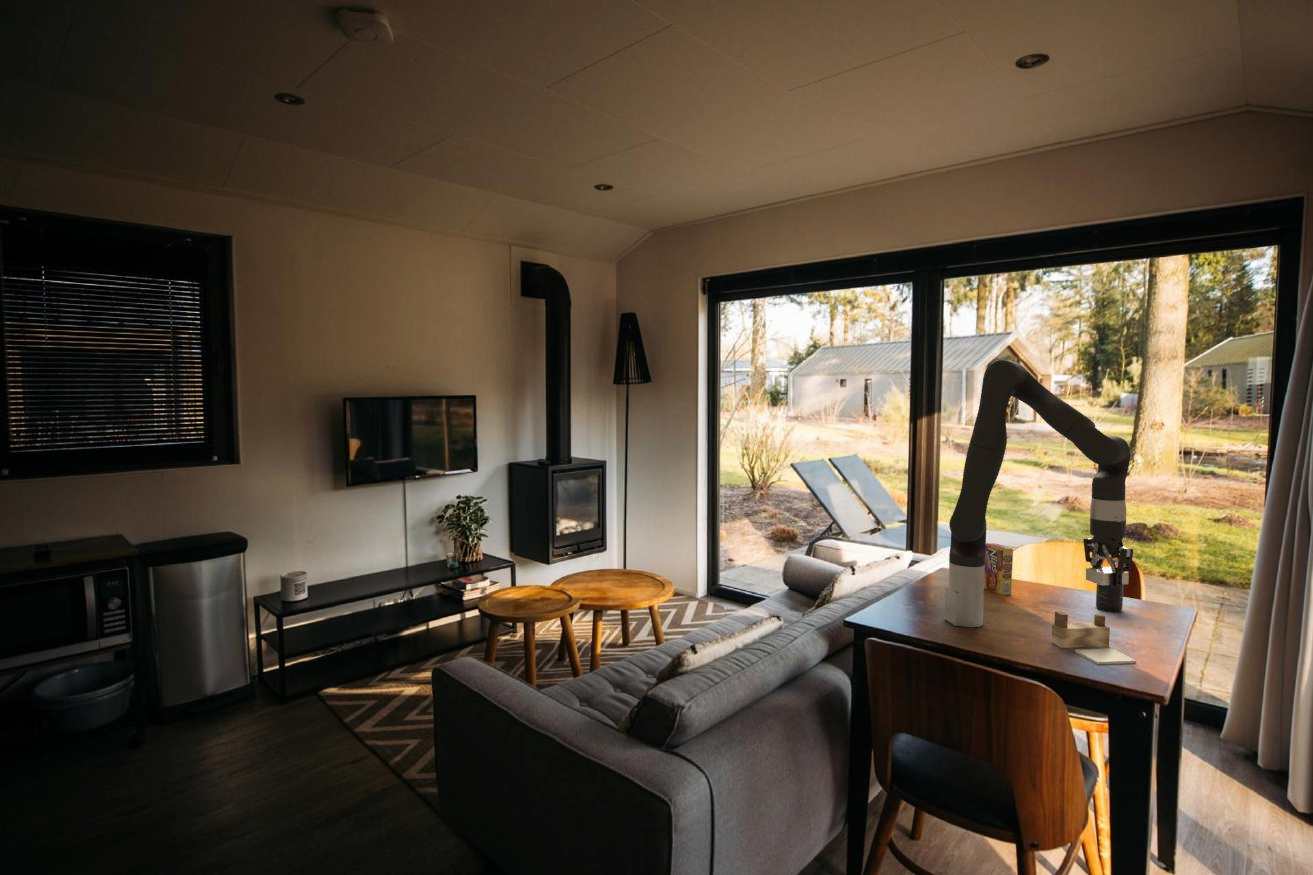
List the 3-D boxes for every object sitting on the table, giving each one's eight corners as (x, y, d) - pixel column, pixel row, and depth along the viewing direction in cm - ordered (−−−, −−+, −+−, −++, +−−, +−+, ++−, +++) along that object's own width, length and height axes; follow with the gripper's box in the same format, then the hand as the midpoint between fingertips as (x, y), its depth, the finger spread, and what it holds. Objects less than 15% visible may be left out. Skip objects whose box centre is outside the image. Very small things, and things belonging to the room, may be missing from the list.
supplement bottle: (1126, 613, 207) (1128, 573, 206) (1101, 611, 208) (1102, 572, 207) (1116, 606, 213) (1118, 567, 213) (1091, 605, 215) (1093, 566, 214)
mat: (1097, 664, 168) (1097, 661, 168) (1075, 651, 176) (1075, 649, 176) (1136, 662, 169) (1136, 660, 169) (1112, 650, 177) (1112, 648, 177)
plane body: (1061, 647, 179) (1062, 615, 178) (1051, 642, 183) (1052, 610, 182) (1108, 646, 180) (1110, 614, 179) (1097, 640, 184) (1099, 609, 183)
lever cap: (1102, 585, 170) (1102, 573, 170) (1085, 579, 175) (1086, 567, 175) (1128, 584, 171) (1128, 572, 170) (1111, 578, 176) (1111, 566, 176)
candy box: (1012, 594, 226) (1014, 548, 225) (1001, 595, 225) (1002, 549, 224) (993, 587, 234) (994, 542, 233) (982, 587, 234) (983, 543, 233)
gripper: (1073, 512, 179) (1072, 577, 180) (1116, 522, 164) (1114, 592, 165) (1100, 511, 179) (1099, 576, 180) (1145, 521, 165) (1143, 591, 166)
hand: (1106, 583), depth 173 cm, fingers closed on lever cap, 5 cm apart
